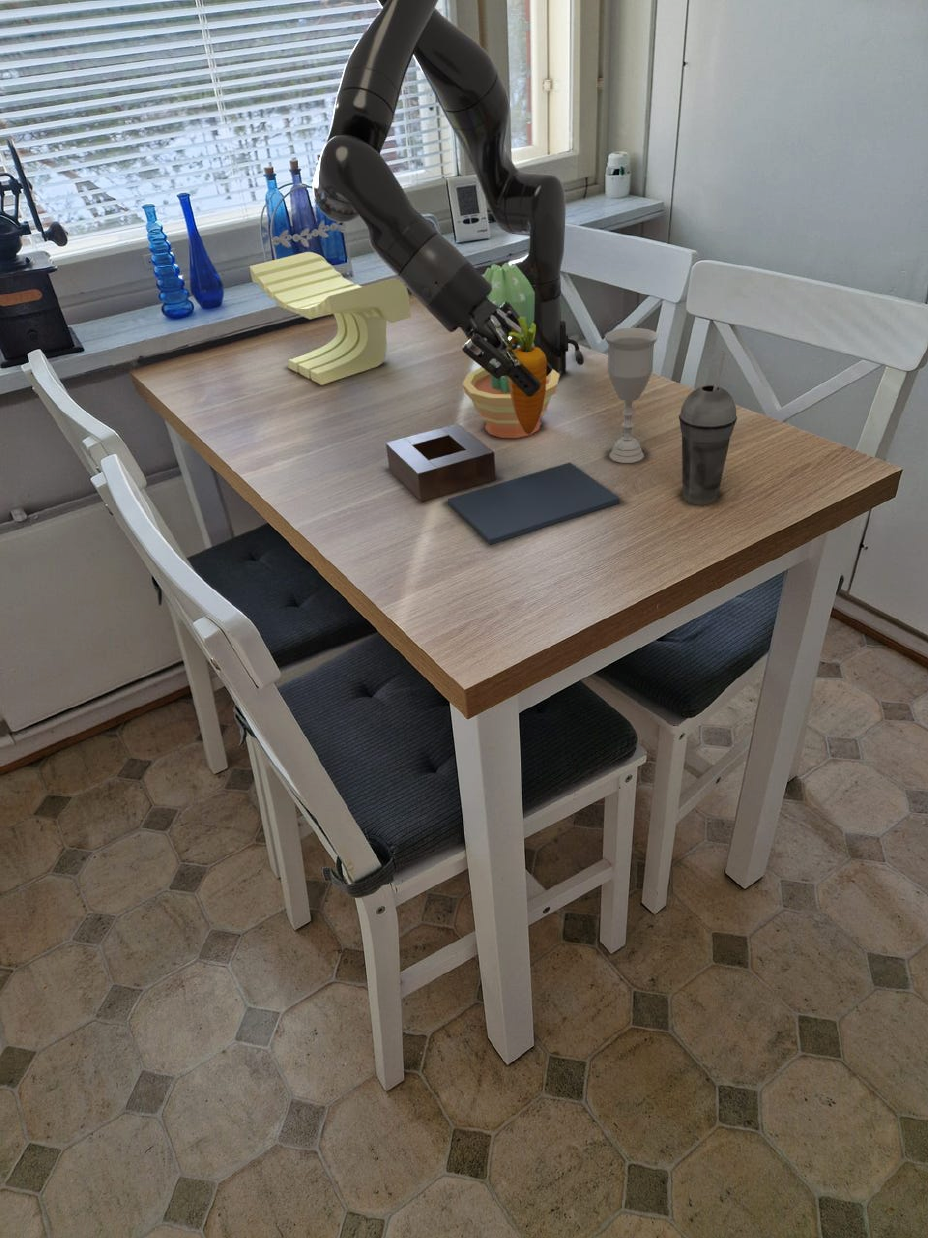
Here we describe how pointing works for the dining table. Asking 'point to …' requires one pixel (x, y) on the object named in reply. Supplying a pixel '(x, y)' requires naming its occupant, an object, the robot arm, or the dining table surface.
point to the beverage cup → (705, 439)
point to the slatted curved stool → (334, 312)
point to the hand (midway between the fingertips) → (541, 382)
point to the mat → (531, 502)
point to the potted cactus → (485, 388)
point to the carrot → (536, 364)
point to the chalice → (629, 380)
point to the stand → (441, 462)
